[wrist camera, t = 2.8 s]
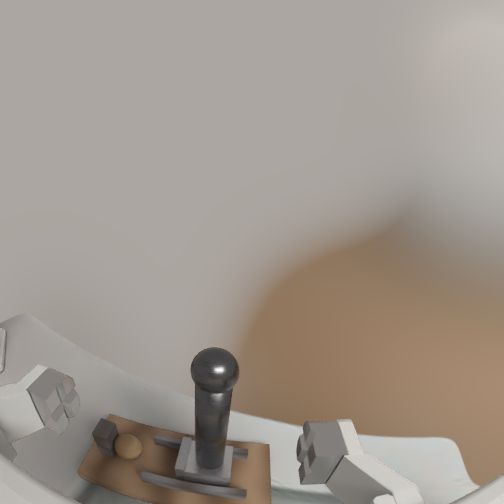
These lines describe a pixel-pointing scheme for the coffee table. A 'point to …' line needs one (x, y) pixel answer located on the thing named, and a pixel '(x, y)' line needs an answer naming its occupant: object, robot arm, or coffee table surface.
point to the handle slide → (209, 420)
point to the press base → (169, 466)
